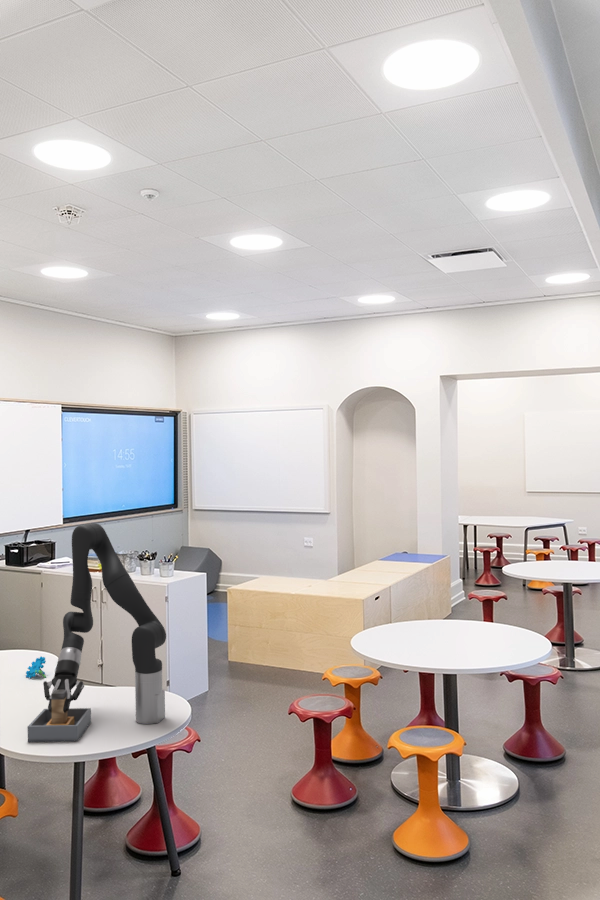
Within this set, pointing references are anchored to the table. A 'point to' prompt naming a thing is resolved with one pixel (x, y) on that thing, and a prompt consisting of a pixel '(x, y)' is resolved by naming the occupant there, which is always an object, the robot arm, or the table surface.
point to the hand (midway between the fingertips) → (57, 711)
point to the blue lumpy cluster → (36, 668)
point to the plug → (58, 706)
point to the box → (59, 726)
